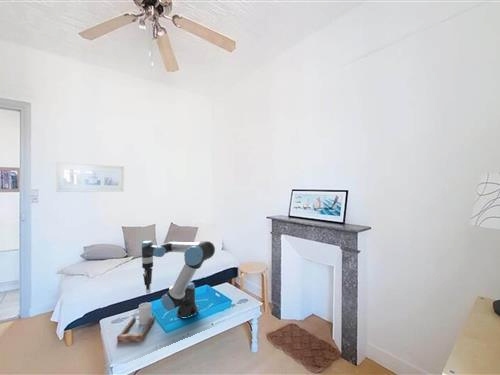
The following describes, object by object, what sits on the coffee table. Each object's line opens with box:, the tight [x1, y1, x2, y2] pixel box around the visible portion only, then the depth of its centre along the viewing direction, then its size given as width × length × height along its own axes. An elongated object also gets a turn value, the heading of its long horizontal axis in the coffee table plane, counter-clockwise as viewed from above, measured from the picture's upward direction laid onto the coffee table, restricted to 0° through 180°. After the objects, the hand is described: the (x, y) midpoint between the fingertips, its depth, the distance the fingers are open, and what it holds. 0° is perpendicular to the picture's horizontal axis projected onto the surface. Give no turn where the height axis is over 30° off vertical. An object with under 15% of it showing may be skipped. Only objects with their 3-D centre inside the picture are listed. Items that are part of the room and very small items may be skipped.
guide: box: [116, 315, 156, 344], centre depth 169 cm, size 15×24×4 cm, turn 2°
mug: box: [133, 301, 153, 326], centre depth 179 cm, size 12×8×12 cm
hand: (148, 292), depth 191 cm, fingers closed
